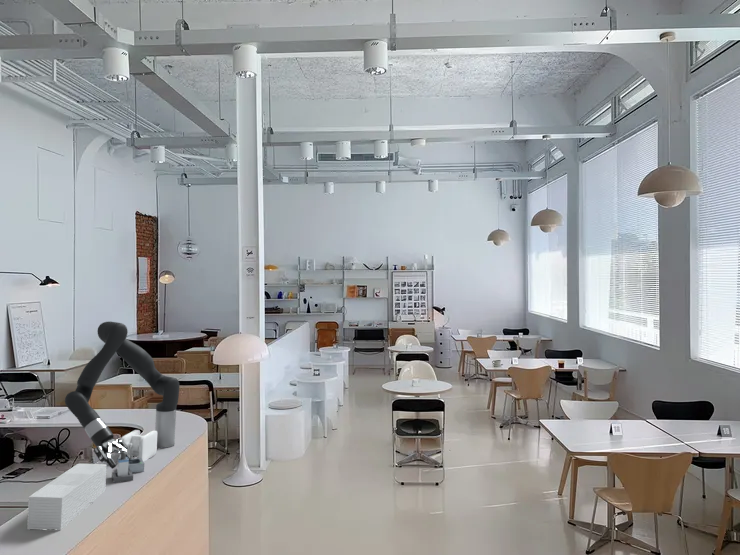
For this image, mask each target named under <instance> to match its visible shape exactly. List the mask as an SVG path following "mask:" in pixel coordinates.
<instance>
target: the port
mask: <svg viewBox="0 0 740 555" xmlns="http://www.w3.org/2000/svg"><path fill="white" fill-rule="evenodd" d="M128 470H131V472H132V474H136V473H143V472H145V462H143V460H142V458H137V457H136V458H134V457H133V458H132V459H131V460H130V461H129V464H128Z"/></svg>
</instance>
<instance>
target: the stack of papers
mask: <svg viewBox="0 0 740 555" xmlns="http://www.w3.org/2000/svg"><path fill="white" fill-rule="evenodd" d="M107 465H108V463H106V464H103V463H80V462H79V463H77V464H75V465H74V466H73V467H71V468H69V469H68V470H66V471H65V472H63V473H62V474H61V475H59V476H57V477H56V478H55V479H53V480H51V481H50V482H49V483H47V484H46V485H44V486H43V487H41V488H39V489H38V490H36V491H35V492H34V493H32V494H31V495H29V496H28V501H27V502H28V506H27V520H26V521H27V522H26V523H27V524H26V527H27V528H26V529H27V530H30V529H40V530H39V531H44V530H43V529H57V530H56V531H62V530H63V529H64V528H65V527H66V526H68V525H69V524H70V523H71V522H72V521H74V520H75V519H76V518H77V517H78V516H79V515H81V514H82V513H83V512H84V511H85V510H86V509H88V506H89V505H90V504H91V503H92V504H93V503H94V501H95V500H96V499H97V498H99V497H100V495H102V494H103V493H104V492H106V487H107V486H106V484H107V483H106V482H107ZM92 504H91V505H92ZM91 505H90V506H91ZM90 506H89V507H90ZM84 509H85V510H84ZM83 510H84V511H83ZM82 511H83V512H82ZM81 512H82V513H81ZM78 514H79V515H78ZM77 515H78V516H77ZM76 516H77V517H76ZM75 517H76V518H75ZM74 518H75V519H74ZM71 520H72V521H71ZM70 521H71V522H70ZM69 522H70V523H69ZM68 523H69V524H68ZM67 524H68V525H67ZM65 525H66V526H65ZM64 526H65V527H64ZM63 527H64V528H63ZM62 528H63V529H62ZM41 529H42V530H41ZM61 529H62V530H61Z"/></svg>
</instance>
